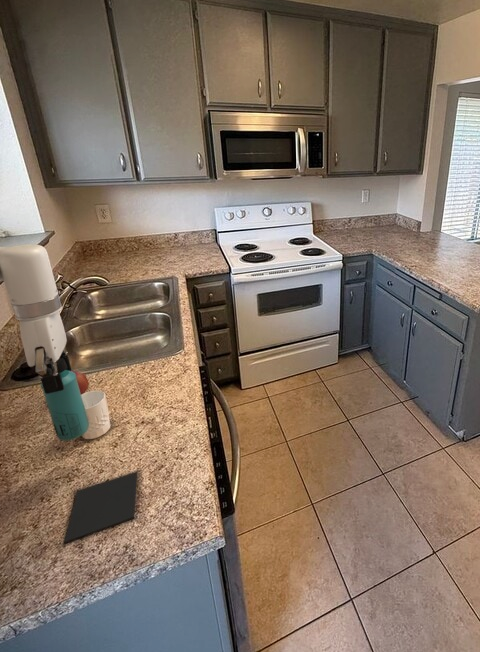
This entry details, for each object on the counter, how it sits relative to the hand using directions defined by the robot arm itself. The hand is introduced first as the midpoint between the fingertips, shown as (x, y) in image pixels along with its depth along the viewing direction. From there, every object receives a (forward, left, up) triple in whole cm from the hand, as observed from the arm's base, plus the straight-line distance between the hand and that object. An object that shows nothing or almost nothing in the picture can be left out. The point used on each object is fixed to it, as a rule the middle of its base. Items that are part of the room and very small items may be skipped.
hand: (59, 380), depth 77 cm
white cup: (0, +13, -25) cm, 28 cm away
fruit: (-8, +32, -25) cm, 41 cm away
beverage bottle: (0, 0, -15) cm, 15 cm away
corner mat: (+5, -13, -25) cm, 28 cm away
